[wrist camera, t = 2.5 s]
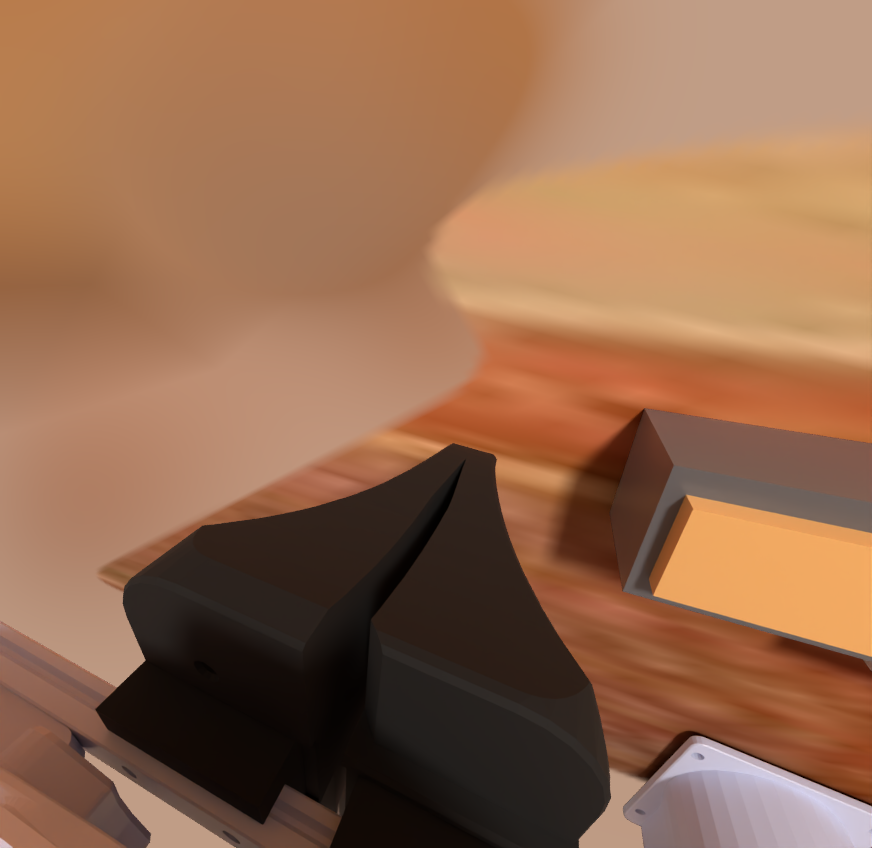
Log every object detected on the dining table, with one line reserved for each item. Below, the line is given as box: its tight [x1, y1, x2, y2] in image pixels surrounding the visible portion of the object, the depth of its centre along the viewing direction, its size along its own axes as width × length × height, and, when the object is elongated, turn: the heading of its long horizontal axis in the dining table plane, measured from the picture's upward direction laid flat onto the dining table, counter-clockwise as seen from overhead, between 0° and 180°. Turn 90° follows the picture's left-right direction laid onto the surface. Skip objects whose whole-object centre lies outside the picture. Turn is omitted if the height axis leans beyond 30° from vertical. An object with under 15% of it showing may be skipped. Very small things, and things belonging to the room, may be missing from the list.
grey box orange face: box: [610, 408, 872, 662], centre depth 10 cm, size 4×7×5 cm, turn 87°
